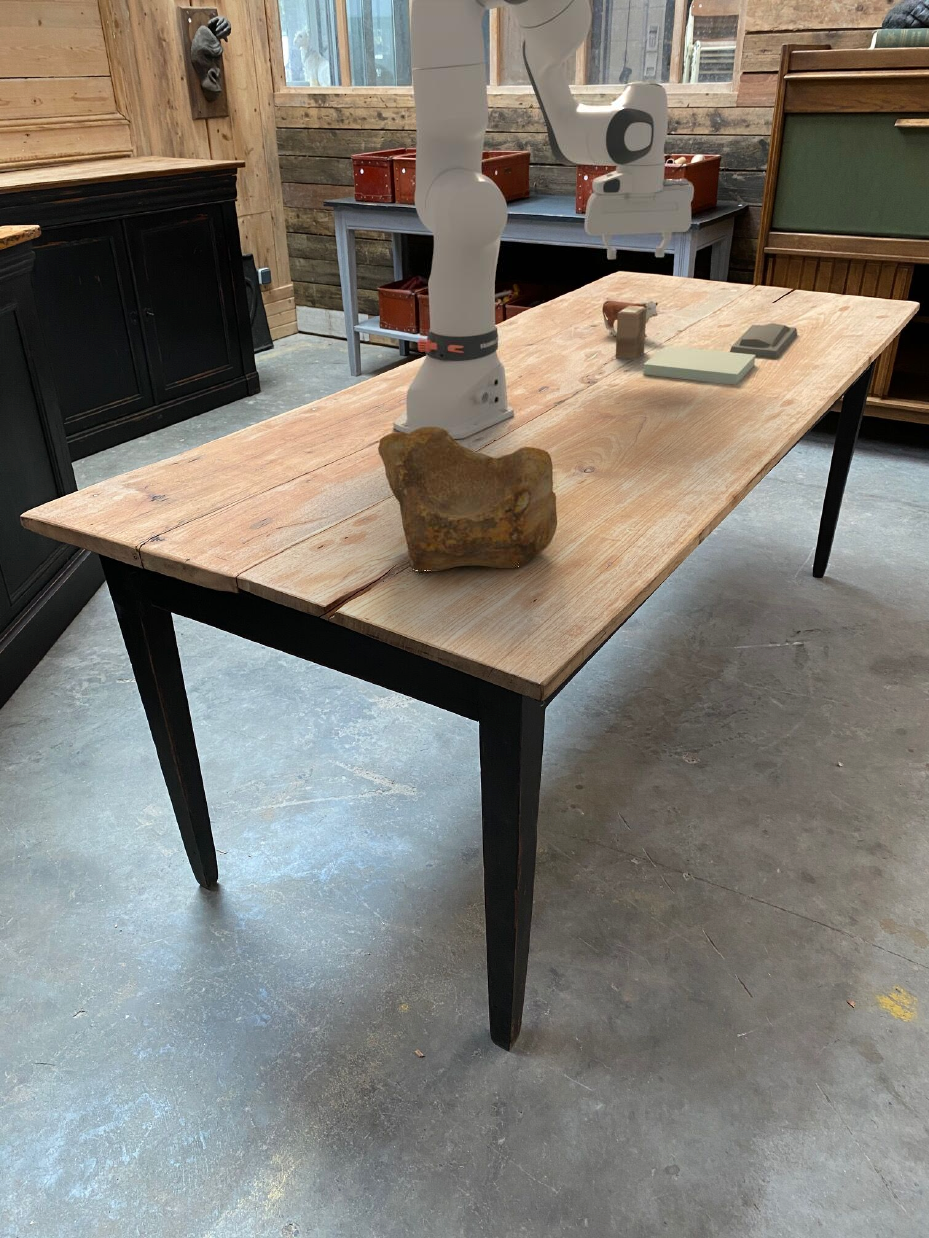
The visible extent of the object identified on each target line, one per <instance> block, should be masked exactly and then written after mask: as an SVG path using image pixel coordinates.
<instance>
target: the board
mask: <svg viewBox="0 0 929 1238" xmlns="http://www.w3.org/2000/svg"><path fill="white" fill-rule="evenodd" d="M755 356H756V355H752V354H742V353H732V352H730V351H722V350H721V351H720V350H712V349H701V348H691V347H683V346H674V345H673V346H671V345H669V346H668V345H666V346H664V347H663V348H661V350H659V351H658V352H657V353H656V354H654V355H653V356H652V357H651V358H649V359H648V360H647V361H646V362H644V363H643V371H642V374H643V375H648V376H654V377H655V376H656V377H664V378H671V379H682V380H690V381H697V382H698V381H700V382H708V383H717V384H726V385H732V386H733V385H734V386H737V385H738V384H739V383H740V381H741V380H742V379H743V378H744V377H745V376H746V375H747V374H748V373H749V371H750V370H751V369H752V368H753V367H754V366H755V365H756V364H755V363H756V362H755V361H756V357H755Z"/></svg>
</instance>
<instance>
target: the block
mask: <svg viewBox="0 0 929 1238" xmlns="http://www.w3.org/2000/svg"><path fill="white" fill-rule="evenodd" d="M646 313H647V308H644V307H640V306H628V307H626V308H625V309H623V310H622V311H620V312H618V319H617V320H616V322H617V324H616V333H617V336H616V340H615V341H616V343H615V359H623V360H634V361H635V360H636V359H637V358H638V357H640V356H641V355H642V354H644V353H645V344H646V343H645V342H646V341H645V339H646V337H645V334H646V327H647V326H646V325H647V323H646Z"/></svg>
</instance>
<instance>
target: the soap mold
mask: <svg viewBox="0 0 929 1238" xmlns="http://www.w3.org/2000/svg"><path fill="white" fill-rule="evenodd" d="M797 336H798V329H797V327H790V326H787V325H786V324H781V323H773V322H771V323H767V324H762V325H760V324H758V325H757V324H752V325H751V326H750V327H748V329H747V330H746V331H745V332H744V333H743V334H742V335H741V336H740V337H739V338H738V339H737V340H736V341H735V342H734V343H733V344H732V346H731V347H730V350H729V352H732V353H742V354H752V355H756V356H755V358H756V357H757V358H768V359H776V360H777V359H778V358H780V357H781V355H782V354H783V352H784V351H785V350H786V349H787V348H788V346H790V344H791V343H792V342H793V341H794V340H795V339H796V338H797Z"/></svg>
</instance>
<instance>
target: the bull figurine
mask: <svg viewBox="0 0 929 1238" xmlns="http://www.w3.org/2000/svg"><path fill="white" fill-rule="evenodd" d="M658 304H659V303H658V301H657V302H655V301H653V300H649V301H647V300H642V301H635V302H623V301H617V300H616V301H615V300H610V299H609V300H605V302H604V303H603V304H602V316H603V320H604V326H605V329H606V330H608V331H610V333H611V335H613V336H612V337H617V330H615V326H614V324H615V321H617V319H618V312H620V311H622V310H623V309H625V308H626V307H628V306H640V307H644V308H647V313H646V324H647V323H648V322H649V320H650V319H652V318H655V317H657V316H658V313H659V312H657V306H658ZM646 337H647V334H646V333H645V338H646Z"/></svg>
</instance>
